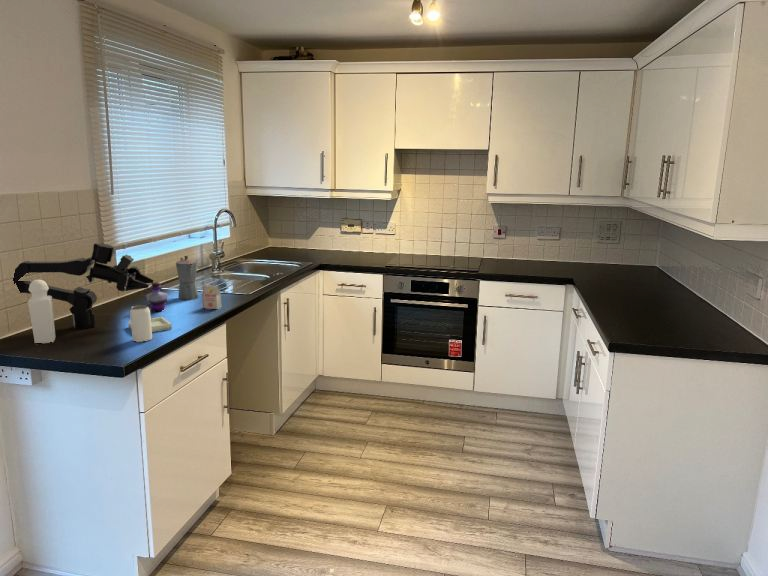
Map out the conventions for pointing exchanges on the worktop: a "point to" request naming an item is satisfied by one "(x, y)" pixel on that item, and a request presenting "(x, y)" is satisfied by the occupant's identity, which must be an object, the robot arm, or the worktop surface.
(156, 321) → the tray
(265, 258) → the worktop surface
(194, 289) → the moka pot
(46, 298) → the white bottle
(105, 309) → the worktop surface
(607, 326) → the worktop surface
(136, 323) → the can
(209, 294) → the cream paper food packet
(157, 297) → the potion bottle
